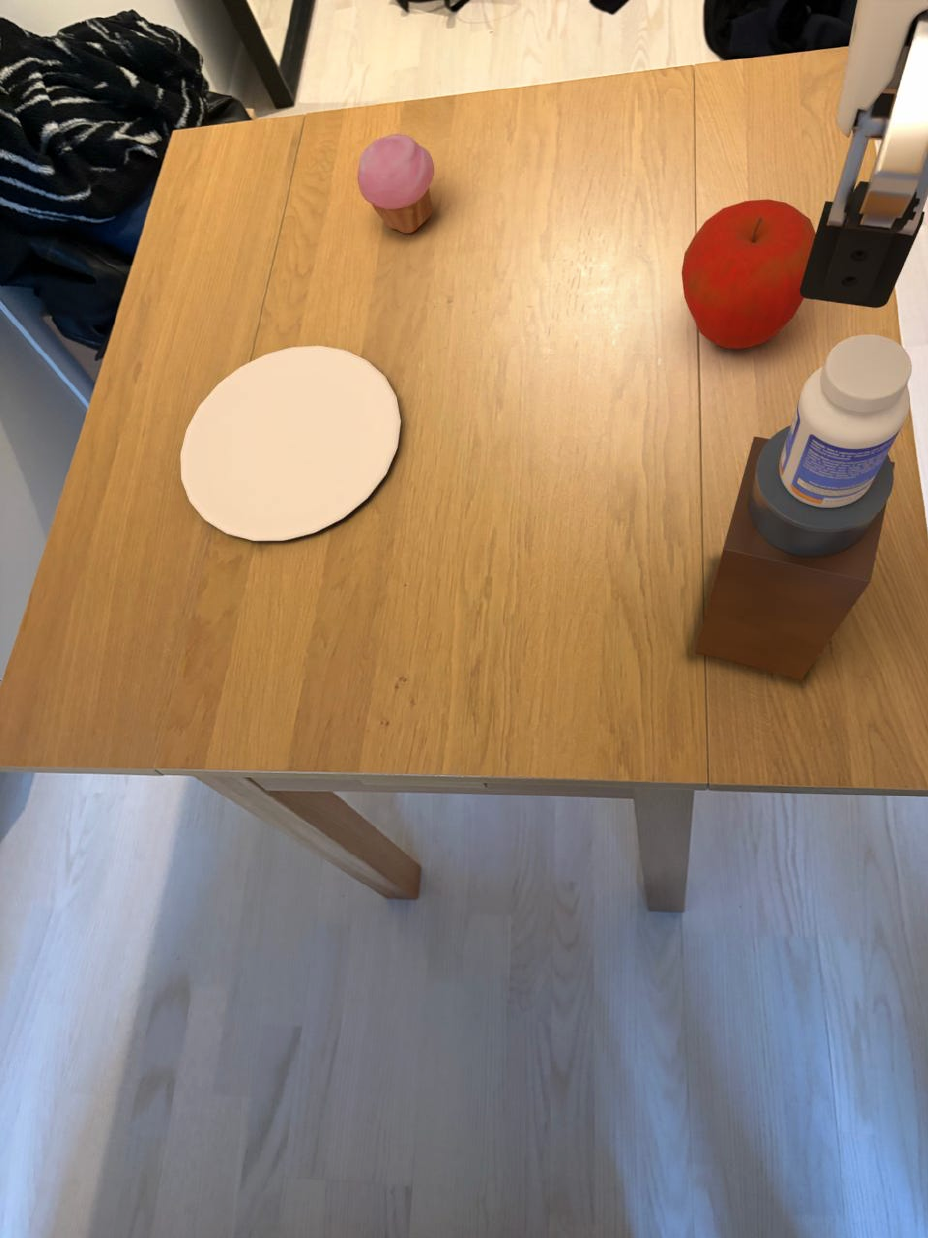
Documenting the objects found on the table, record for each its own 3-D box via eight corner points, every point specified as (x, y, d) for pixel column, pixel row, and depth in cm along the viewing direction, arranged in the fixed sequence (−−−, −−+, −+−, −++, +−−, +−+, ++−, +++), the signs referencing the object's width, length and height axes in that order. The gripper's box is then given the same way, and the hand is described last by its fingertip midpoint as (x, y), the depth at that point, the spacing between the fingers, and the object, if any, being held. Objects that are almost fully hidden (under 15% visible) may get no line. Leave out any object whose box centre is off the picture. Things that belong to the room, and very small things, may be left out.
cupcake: (457, 206, 96) (441, 128, 86) (417, 257, 94) (396, 183, 84) (399, 186, 99) (377, 109, 90) (359, 235, 97) (332, 161, 88)
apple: (745, 266, 85) (768, 145, 72) (825, 333, 80) (865, 216, 67) (651, 327, 84) (658, 215, 71) (726, 398, 79) (748, 292, 66)
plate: (369, 321, 91) (366, 313, 90) (431, 494, 81) (428, 488, 80) (168, 398, 92) (163, 391, 91) (204, 579, 82) (198, 574, 81)
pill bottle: (891, 488, 47) (955, 381, 38) (807, 524, 47) (851, 427, 38) (839, 421, 49) (889, 305, 40) (759, 456, 49) (791, 348, 40)
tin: (884, 467, 52) (904, 431, 48) (862, 571, 49) (881, 541, 46) (761, 444, 54) (771, 408, 50) (734, 543, 52) (743, 512, 48)
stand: (822, 587, 70) (895, 461, 52) (801, 680, 67) (870, 582, 49) (719, 563, 73) (754, 435, 54) (694, 652, 70) (723, 549, 52)
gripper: (1319, -267, 13) (931, 393, 29) (1328, -685, 18) (995, 67, 34) (836, -248, 15) (720, 358, 31) (968, -628, 20) (811, 56, 36)
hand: (864, 205), depth 32 cm, fingers open, 9 cm apart
